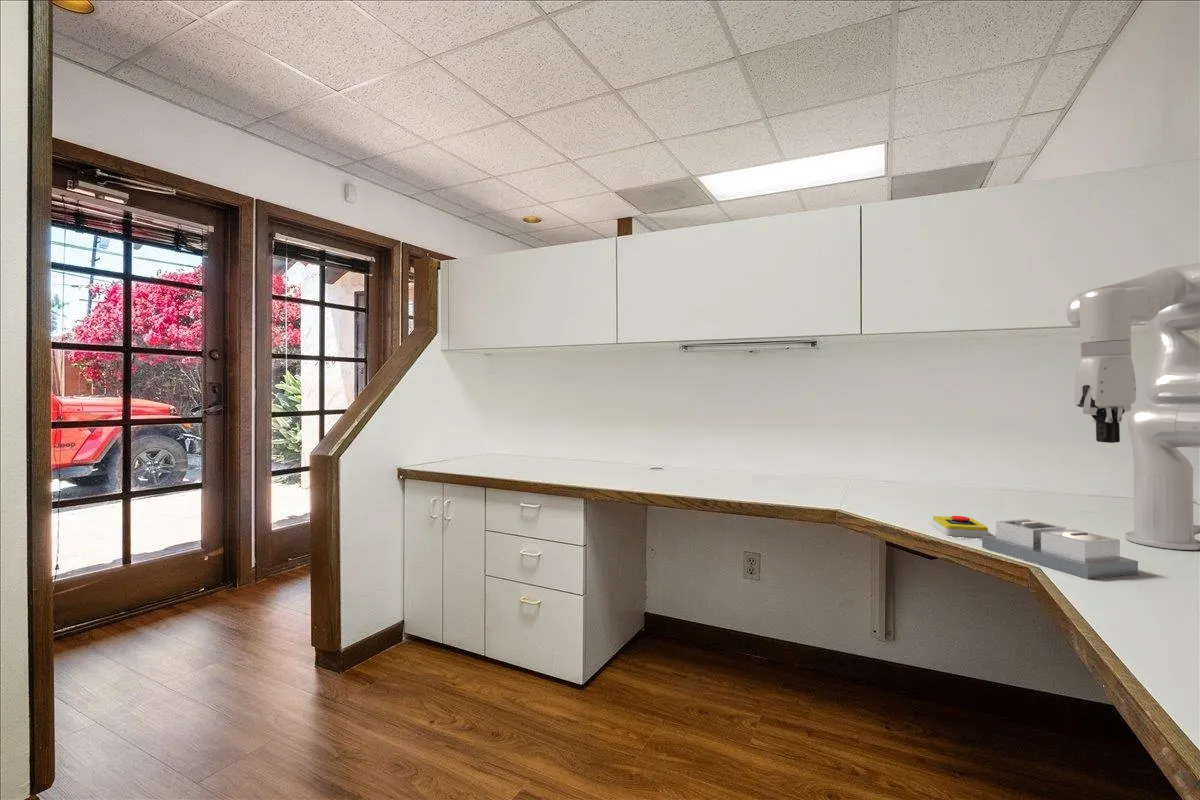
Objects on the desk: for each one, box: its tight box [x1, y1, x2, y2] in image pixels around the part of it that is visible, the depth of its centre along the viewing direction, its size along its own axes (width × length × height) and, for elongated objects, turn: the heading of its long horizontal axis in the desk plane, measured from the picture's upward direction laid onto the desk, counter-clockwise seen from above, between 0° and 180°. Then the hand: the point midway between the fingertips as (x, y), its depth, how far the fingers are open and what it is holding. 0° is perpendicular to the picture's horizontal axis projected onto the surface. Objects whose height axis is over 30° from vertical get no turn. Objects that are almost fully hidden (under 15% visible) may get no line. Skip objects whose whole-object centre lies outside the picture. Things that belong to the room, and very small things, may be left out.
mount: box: [981, 518, 1139, 580], centre depth 114 cm, size 12×22×6 cm, turn 12°
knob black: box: [1015, 521, 1045, 529], centre depth 119 cm, size 5×5×6 cm
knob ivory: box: [1062, 532, 1097, 541], centre depth 110 cm, size 5×5×6 cm
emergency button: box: [931, 515, 989, 541], centre depth 138 cm, size 9×4×15 cm
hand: (1108, 441), depth 112 cm, fingers closed
